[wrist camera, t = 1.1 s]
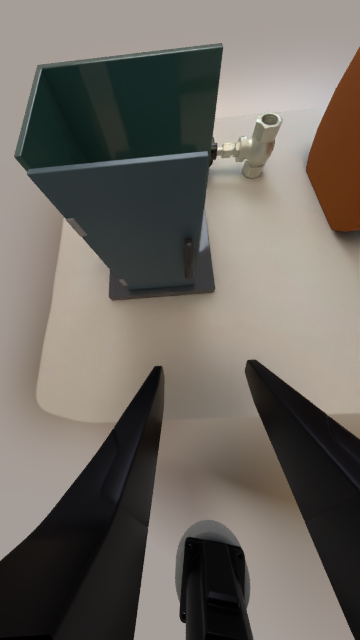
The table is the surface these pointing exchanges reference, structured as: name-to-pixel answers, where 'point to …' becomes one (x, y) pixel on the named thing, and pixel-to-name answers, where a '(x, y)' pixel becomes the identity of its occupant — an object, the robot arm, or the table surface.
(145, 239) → the shower door
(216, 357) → the table surface
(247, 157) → the valve
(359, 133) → the alarm clock
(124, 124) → the shower stall
